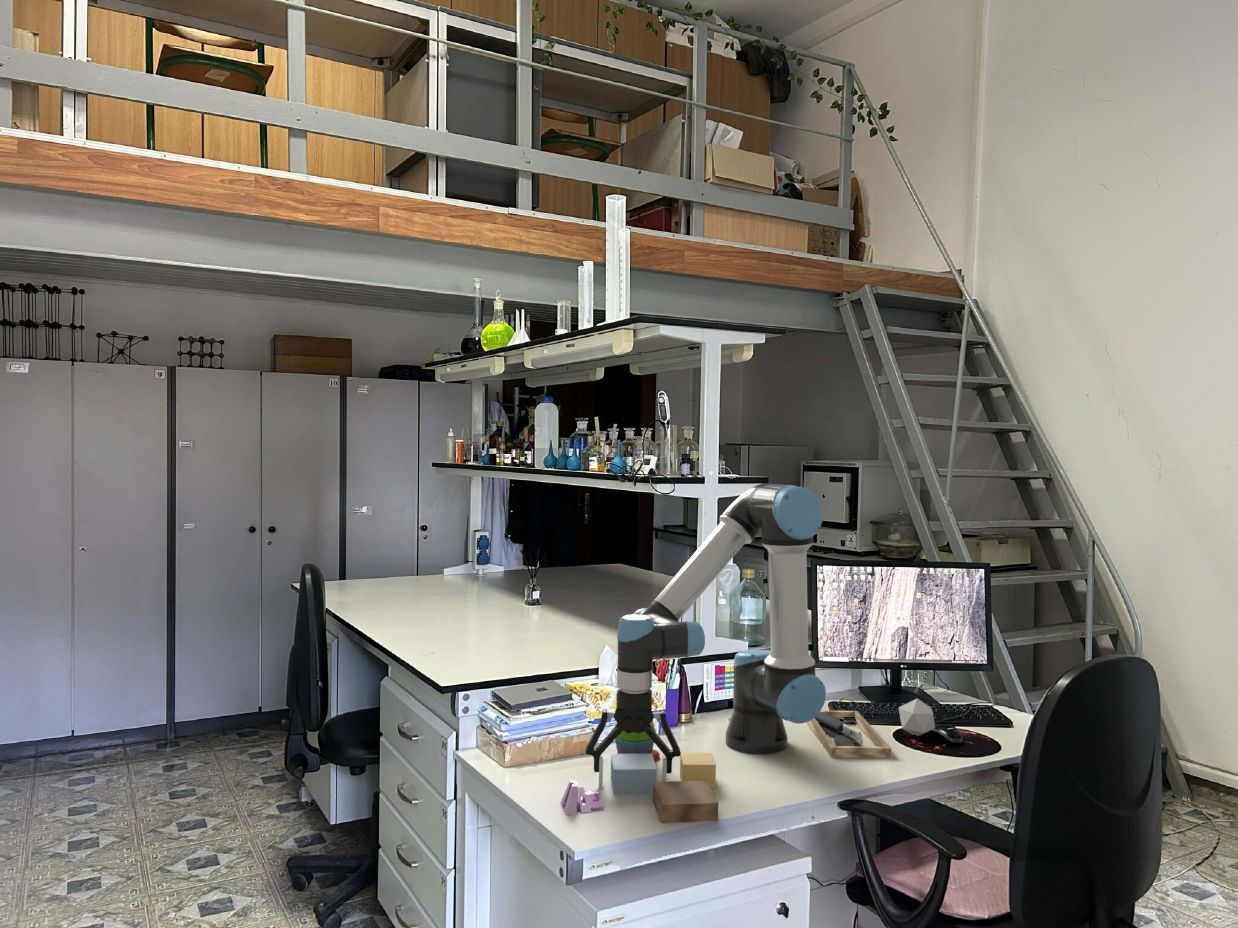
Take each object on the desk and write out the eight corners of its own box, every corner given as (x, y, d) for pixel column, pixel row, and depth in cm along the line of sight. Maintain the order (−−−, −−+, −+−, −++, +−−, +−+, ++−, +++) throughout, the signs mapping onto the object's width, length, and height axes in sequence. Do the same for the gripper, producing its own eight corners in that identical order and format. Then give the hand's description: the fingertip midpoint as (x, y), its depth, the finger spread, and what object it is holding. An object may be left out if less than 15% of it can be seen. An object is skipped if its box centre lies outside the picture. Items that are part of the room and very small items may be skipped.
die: (937, 735, 218) (938, 696, 218) (929, 745, 210) (930, 705, 210) (903, 729, 222) (904, 691, 222) (894, 738, 215) (895, 699, 215)
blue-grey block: (651, 780, 186) (651, 753, 186) (656, 797, 177) (656, 768, 177) (610, 780, 185) (611, 753, 185) (613, 798, 176) (613, 769, 176)
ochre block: (711, 779, 187) (712, 752, 187) (715, 792, 180) (715, 764, 180) (679, 779, 187) (680, 752, 187) (682, 792, 180) (682, 764, 180)
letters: (597, 802, 174) (597, 774, 174) (604, 817, 167) (605, 787, 167) (558, 805, 172) (559, 777, 172) (564, 820, 166) (565, 790, 165)
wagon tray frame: (857, 721, 227) (857, 710, 227) (890, 760, 199) (890, 748, 199) (804, 721, 227) (805, 710, 227) (831, 759, 199) (831, 747, 199)
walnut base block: (705, 804, 174) (705, 780, 174) (717, 828, 164) (718, 802, 163) (652, 806, 173) (652, 781, 173) (661, 830, 162) (662, 804, 162)
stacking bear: (653, 772, 190) (655, 693, 190) (609, 768, 192) (610, 690, 192) (661, 755, 201) (662, 680, 200) (619, 751, 203) (620, 677, 202)
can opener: (869, 753, 205) (869, 732, 205) (846, 755, 203) (846, 734, 203) (827, 727, 223) (827, 708, 223) (805, 729, 221) (806, 710, 221)
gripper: (691, 684, 185) (689, 781, 185) (576, 682, 185) (575, 779, 185) (694, 694, 177) (692, 795, 177) (575, 692, 177) (573, 793, 177)
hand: (632, 787), depth 181 cm, fingers open, 13 cm apart
